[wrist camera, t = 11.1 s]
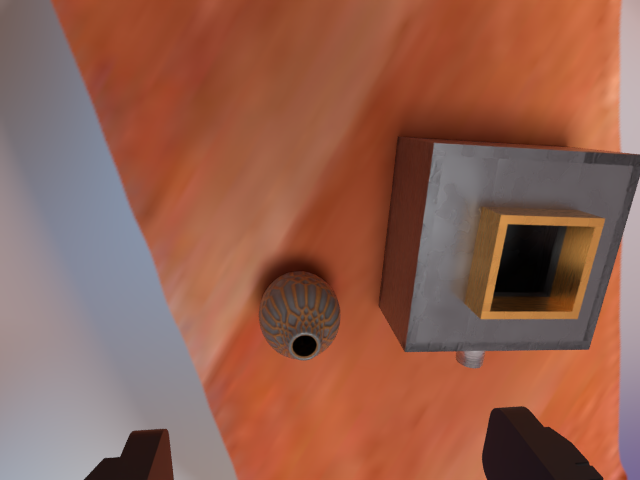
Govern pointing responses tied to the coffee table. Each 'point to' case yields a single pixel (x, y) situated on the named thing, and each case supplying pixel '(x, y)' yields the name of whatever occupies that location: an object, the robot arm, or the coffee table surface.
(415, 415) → the coffee table surface
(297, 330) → the vase
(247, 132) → the coffee table surface
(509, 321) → the grey box with opening
